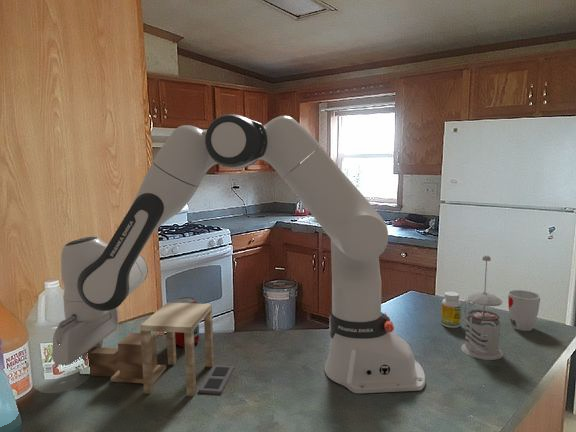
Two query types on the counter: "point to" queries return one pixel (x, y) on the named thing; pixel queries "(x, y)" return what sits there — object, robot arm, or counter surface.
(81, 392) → the counter surface
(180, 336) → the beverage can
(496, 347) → the french press
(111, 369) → the wooden step block
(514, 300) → the cup
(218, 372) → the pit board
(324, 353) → the counter surface
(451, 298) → the supplement bottle
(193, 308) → the small wooden table
